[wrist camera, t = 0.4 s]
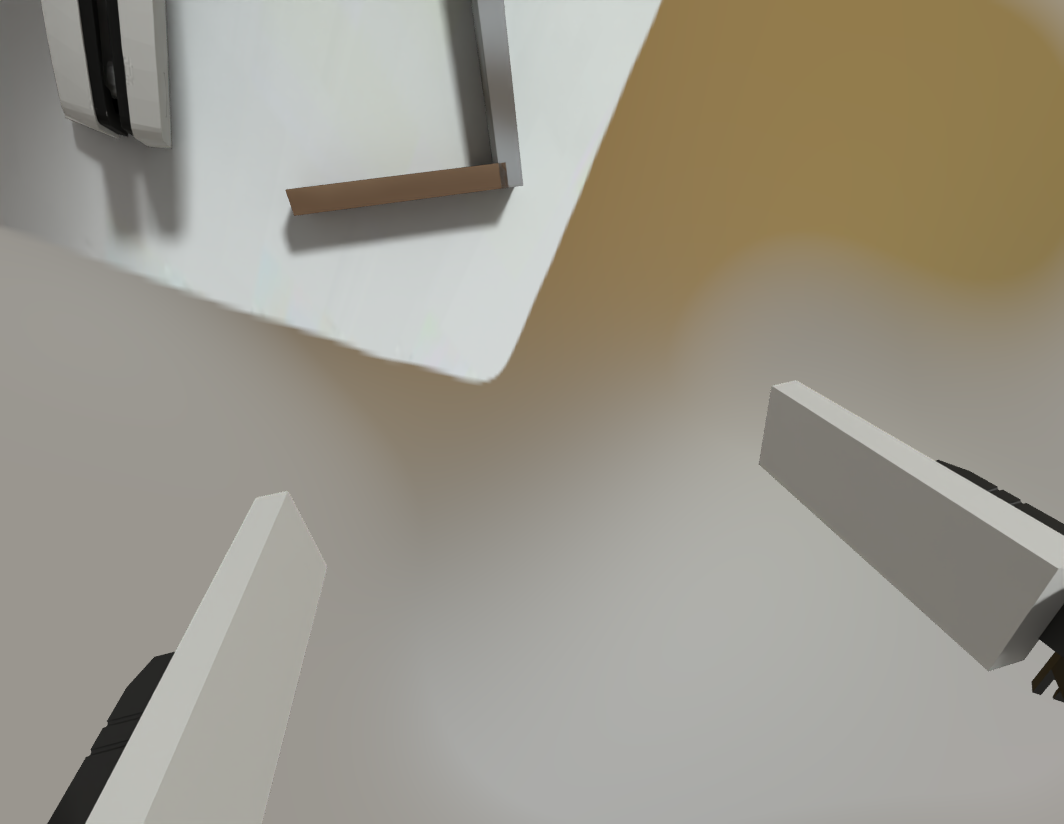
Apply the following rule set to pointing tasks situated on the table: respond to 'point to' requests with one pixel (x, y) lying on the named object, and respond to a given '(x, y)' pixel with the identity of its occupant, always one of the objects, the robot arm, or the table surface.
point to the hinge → (112, 65)
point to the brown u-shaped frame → (449, 181)
